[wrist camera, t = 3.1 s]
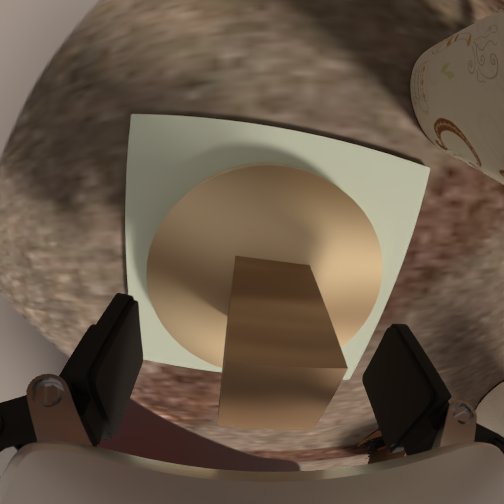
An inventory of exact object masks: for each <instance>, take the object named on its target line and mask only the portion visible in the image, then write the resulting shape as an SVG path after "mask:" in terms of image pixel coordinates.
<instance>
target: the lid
mask: <svg viewBox="0 0 504 504" xmlns="http://www.w3.org/2000/svg"><path fill="white" fill-rule="evenodd" d="M382 269H383V263H382V254H381V248H380V244H379V241H378V237H377V235H376V232H375V230H374V228H373V226H372V224H371V222H370V220H369V219H368V217H367V216H366V214H365V213H364V211H363V210H362V209H361V208H360V207H359V205H358V204H357V203H356V202H355V201H354V200H353V199H352V198H351V197H350V196H348V195H347V194H346V193H345V192H344V191H342V190H341V189H340V188H338V187H337V186H336V185H334V184H333V183H332V182H330V181H328V180H327V179H325V178H323V177H321V176H320V175H318V174H315V173H313V172H310V171H308V170H305V169H303V168H299V167H295V166H290V165H286V164H276V163H256V164H248V165H242V166H237V167H233V168H230V169H227V170H224V171H221V172H219V173H217V174H215V175H213V176H211V177H209V178H207V179H205V180H203V181H202V182H200V183H199V184H197V185H196V186H195V187H193V188H192V189H190V190H189V191H188V192H187V193H186V194H185V195H184V196H183V197H182V198H181V199H180V200H179V201H178V202H177V203H176V204H175V205H174V206H173V208H172V209H171V210H170V211H169V213H168V214H167V215H166V216H165V218H164V219H163V220H162V222H161V224H160V226H159V228H158V229H157V231H156V233H155V235H154V238H153V241H152V243H151V246H150V249H149V254H148V259H147V272H146V278H147V287H148V292H149V296H150V300H151V303H152V306H153V308H154V310H155V313H156V315H157V317H158V318H159V320H160V322H161V323H162V325H163V326H164V328H165V329H166V330H167V332H168V333H169V334H170V335H171V336H172V337H173V338H174V339H175V340H176V341H177V342H178V343H179V344H180V345H181V346H182V347H183V348H185V349H186V350H187V351H189V352H190V353H192V354H193V355H195V356H196V357H198V358H200V359H202V360H204V361H206V362H208V363H210V364H212V365H215V366H218V367H220V368H222V377H221V388H220V399H219V410H218V422H217V425H218V426H228V427H239V428H254V429H278V430H310V429H314V428H315V426H316V425H317V423H318V421H319V420H320V418H321V416H322V415H323V413H324V411H325V410H326V408H327V406H328V404H329V403H330V401H331V399H332V397H333V396H334V394H335V392H336V390H337V388H338V386H339V385H340V383H341V381H342V379H343V377H344V375H345V373H346V371H347V369H348V367H347V364H346V361H345V358H344V355H343V352H342V350H341V347H342V346H344V345H345V344H346V343H347V342H348V341H349V340H350V339H351V338H352V337H353V336H354V335H355V334H356V333H357V332H358V331H359V330H360V328H361V327H362V326H363V325H364V323H365V322H366V320H367V318H368V317H369V315H370V314H371V312H372V309H373V307H374V305H375V303H376V300H377V297H378V294H379V291H380V287H381V281H382Z"/></svg>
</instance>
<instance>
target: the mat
mask: <svg viewBox="0 0 504 504" xmlns="http://www.w3.org/2000/svg"><path fill="white" fill-rule="evenodd" d="M256 163H276V164H286V165H290V166H295V167H299V168H303V169H305V170H308V171H310V172H313V173H315V174H318V175H320V176H321V177H323V178H325V179H327V180H328V181H330V182H332V183H333V184H334V185H336V186H337V187H338V188H340V189H341V190H342V191H344V192H345V193H346V194H347V195H348V196H350V197H351V198H352V199H353V200H354V201H355V202H356V203H357V204H358V205H359V207H360V208H361V209H362V210H363V211H364V213H365V214H366V216H367V217H368V219H369V220H370V222H371V224H372V226H373V228H374V230H375V232H376V235H377V237H378V241H379V244H380V248H381V254H382V263H383V269H382V281H381V287H380V291H379V294H378V297H377V300H376V303H375V305H374V307H373V309H372V312H371V314H370V315H369V317H368V318H367V320H366V322H365V323H364V325H363V326H362V327H361V328H360V330H359V331H358V332H357V333H356V334H355V335H354V336H353V337H352V338H351V339H350V340H349V341H348V342H347V343H346V344H345V345H344V346H342V347H341V350H342V352H343V355H344V358H345V361H346V364H347V367H348V369H347V371H346V373H345V375H344V377H343V379H342V380H349V379H350V377H351V375H352V374H353V372H354V370H355V368H356V366H357V364H358V362H359V360H360V358H361V356H362V355H363V353H364V351H365V349H366V347H367V345H368V343H369V340H370V338H371V336H372V334H373V332H374V330H375V328H376V326H377V324H378V321H379V319H380V317H381V315H382V312H383V310H384V308H385V305H386V303H387V301H388V298H389V296H390V294H391V291H392V289H393V286H394V284H395V281H396V279H397V276H398V273H399V271H400V268H401V265H402V263H403V260H404V257H405V254H406V251H407V248H408V246H409V243H410V240H411V237H412V233H413V230H414V227H415V224H416V221H417V217H418V214H419V210H420V207H421V203H422V200H423V196H424V192H425V188H426V184H427V180H428V176H429V172H430V168H428V167H426V166H423V165H420V164H417V163H414V162H411V161H408V160H405V159H402V158H399V157H396V156H393V155H390V154H387V153H383V152H380V151H377V150H373V149H370V148H366V147H363V146H359V145H355V144H351V143H347V142H344V141H340V140H335V139H331V138H327V137H323V136H318V135H314V134H309V133H304V132H299V131H294V130H289V129H283V128H278V127H272V126H266V125H259V124H253V123H246V122H238V121H230V120H222V119H212V118H202V117H190V116H175V115H153V114H131V122H130V132H129V143H128V156H127V172H126V201H125V235H126V265H127V281H128V295H131V296H133V298H134V300H136V301H138V305H139V318H140V329H141V339H142V348H143V359H145V360H150V361H155V362H160V363H165V364H171V365H176V366H182V367H188V368H194V369H201V370H208V371H215V372H222V368H220V367H218V366H215V365H212V364H210V363H208V362H206V361H204V360H202V359H200V358H198V357H196V356H195V355H193V354H192V353H190V352H189V351H187V350H186V349H185V348H183V347H182V346H181V345H180V344H179V343H178V342H177V341H176V340H175V339H174V338H173V337H172V336H171V335H170V334H169V333H168V332H167V330H166V329H165V328H164V326H163V325H162V323H161V322H160V320H159V318H158V317H157V315H156V313H155V310H154V308H153V306H152V303H151V300H150V296H149V292H148V287H147V278H146V272H147V259H148V254H149V249H150V246H151V243H152V241H153V238H154V235H155V233H156V231H157V229H158V228H159V226H160V224H161V222H162V220H163V219H164V218H165V216H166V215H167V214H168V213H169V211H170V210H171V209H172V208H173V206H174V205H175V204H176V203H177V202H178V201H179V200H180V199H181V198H182V197H183V196H184V195H185V194H186V193H187V192H188V191H189V190H190V189H192V188H193V187H195V186H196V185H197V184H199V183H200V182H202V181H203V180H205V179H207V178H209V177H211V176H213V175H215V174H217V173H219V172H221V171H224V170H227V169H230V168H233V167H237V166H242V165H248V164H256Z"/></svg>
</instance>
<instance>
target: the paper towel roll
mask: <svg viewBox="0 0 504 504" xmlns="http://www.w3.org/2000/svg"><path fill="white" fill-rule="evenodd" d="M475 412H476V415H477V423H478V424H480V425H482V426H484V427H486V428H488V429H490V430H492V431H494V432H496V433H498V434H499V435H501V436H502V437H504V381H503V382H502V383H500V384H499V385H498V386H496V387H495V388H494V389H493V390H491V391H490V392H489V393H488V394H487V395H486V396H485V397H484V398H483V400H482V401H481V402H480V403H479V405H478V407H477V408H476V410H475Z"/></svg>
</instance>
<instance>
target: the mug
mask: <svg viewBox="0 0 504 504" xmlns="http://www.w3.org/2000/svg"><path fill="white" fill-rule="evenodd" d="M410 91H411V99H412V104H413V109H414V112H415V115H416V117H417V120H418V122H419V124H420V126H421V128H422V129H423V131H424V133H425V134H426V136H427V137H428V138H429V139H430V141H431V142H432V143H433V144H434V145H435V146H437V147H438V148H439V149H440V150H442V151H443V152H445V153H447V154H448V155H450V156H452V157H454V158H456V159H458V160H460V161H462V162H464V163H466V164H468V165H470V166H472V167H474V168H475V169H477V170H479V171H481V172H483V173H485V174H486V175H488V176H490V177H492V178H493V179H495V180H497V181H498V182H500V183H502V184H503V185H504V8H503V9H501V10H499V11H497V12H495V13H493V14H491V15H489V16H487V17H485V18H483V19H481V20H479V21H477V22H475V23H474V24H472V25H470V26H468V27H466V28H464V29H462V30H461V31H459V32H457V33H455V34H453V35H452V36H450V37H448V38H446V39H445V40H443V41H441V42H439V43H438V44H436V45H434V46H433V47H431V48H429V49H428V50H426V51H425V52H424V53H423V54H422V55H421V56H420V57H419V58H418V60H417V61H416V63H415V65H414V67H413V71H412V75H411V82H410Z"/></svg>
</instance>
